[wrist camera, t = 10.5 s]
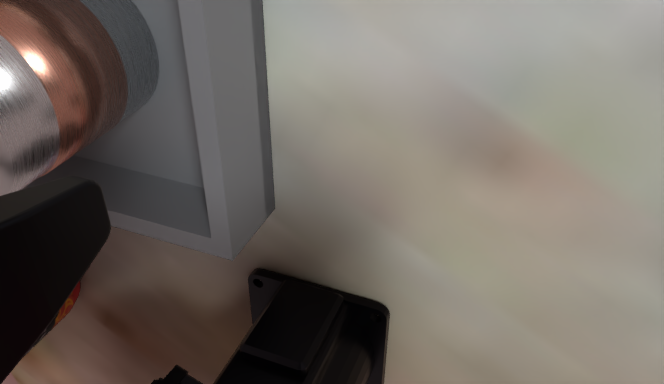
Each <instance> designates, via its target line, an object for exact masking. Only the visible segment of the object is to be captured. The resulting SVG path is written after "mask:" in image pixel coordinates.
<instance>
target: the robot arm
mask: <svg viewBox="0 0 664 384" xmlns="http://www.w3.org/2000/svg"><path fill="white" fill-rule="evenodd" d="M110 229H111V223H110V218H109V214H108V210H107V207H106V203H105V199H104V195H103V191H102V188H101V186H100V185H99V183H98V182H96V181H95V180H92V179H88V178H85V177H81V176H76V175H70V176H66V177H63V178H59V179H56V180H52V181H49V182H46V183H42V184H39V185H36V186H32V187H29V188H25V189H22V190H19V191H15V192H12V193H8V194H5V195H2V196H0V384H1V383H2V382H3V380H5V378H6V377H7V376H8V375H9V373H10V372H11V371H12V370H13V369H14V367H15V366H16V365H17V364H18V362H19V361H20V360H21V359H22V358H23V356H24V355H25V354H26V353H27V351H28V350H29V349H30V348H31V346H32V345H33V344H34V343H35V342H36V340H37V339H38V338H39V337H40V335H41V334H42V333H43V332H44V331H45V329H46V328H47V327H48V325H49V324H50V323H51V322H52V320H53V319H54V318H55V316H56V315H57V313H58V312H59V310H60V309H61V308H62V306H63V305H64V303H65V302H66V300H67V299H68V297H69V296H70V294H71V293H72V291H73V290H74V288H75V287H76V285H77V284H78V282H79V281H80V279H81V278H82V276H83V275H84V273H85V272H86V270H87V269H88V267H89V266H90V264H91V263H92V261H93V260H94V258H95V257H96V255H97V254H98V252H99V251H100V249H101V248H102V246H103V245H104V243H105V242H106V240H107V239H108V236H109V234H110ZM260 280H261V281H260ZM248 283H249V293H250V303H251V313H252V323H253V326H252V327H251V328H250V330H249V331H248V333H247V334H246V336H245V337H244V339H243V340H242V342H241V343H240V345H239V346H238V348H237V349H236V351H235V352H234V354H233V355H232V357H231V358H230V360H229V361H228V363H227V364H226V365H225V367H224V368H223V370H222V371H221V373H220V374H219V376H218V377H217V379H216V380H215V382H214V383H213V384H384V376H385V364H386V353H387V341H388V329H389V318H390V313H389V310H388V309H387V307H386V306H384V305H383V304H381V303H378V302H374V301H371V300H367V299H364V298H360V297H357V296H353V295H350V294H346V293H343V292H339V291H336V290H332V289H329V288H325V287H322V286H318V285H315V284H311V283H308V282H304V281H301V280H298V279H294V278H291V277H287V276H284V275H280V274H277V273H273V272H270V271H266V270H263V269H255V270H254V271H253V272H252V274H251V275H250V276H249V278H248ZM375 313H376V314H378V315H379V316H378V315H376V314H375ZM151 384H203V383H201V382H200V381H198V380H196V379H195V378H193V377H191V376H190V375H188V371H186V370H185V369H183V368H181V367H180V366H178V365H176V366H175V367H174V368H173V369H172V370H171V371H170V372H169V373H168V375H167V376H166V377H165V378H164V379H162V378H159V379H158V380H154V381H153V382H152V383H151Z"/></svg>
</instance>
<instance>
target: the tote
mask: <svg viewBox="0 0 664 384" xmlns="http://www.w3.org/2000/svg"><path fill="white" fill-rule="evenodd" d="M132 1H133V3H134V4H135V5H136V6H137V8H138V9H139V11H140V12H141V14H142V15H143V17H144V19H145V20H146V22H147V24H148V26H149V28H150V30H151V33H152V35H153V38H154V41H155V44H156V47H157V52H158V58H159V78H158V83H157V87H156V90H155V92H154V94H153V96H152V97H151V98H150V100H149V101H148V102H147V103H146V104H145V105H143V106H142V107H141V108H139V109H138V110H136V111H135V112H133V113H132V114H130V115H129V116H127V117H126V118H125V119H123V120H122V121H120V122H119V123H118V124H117V125H116V126H115V127H114V128H113V129H111V130H110V131H108V132H107V133H105V134H104V135H102V136H101V137H99V138H98V139H97V140H95V141H94V142H92V143H91V144H89V145H88V146H86V147H85V148H84V149H82V150H81V151H79V152H78V153H76V154H75V155H73V156H72V157H71V158H69V159H68V160H66V161H65V162H63V163H62V164H60V165H59V166H57V167H56V168H55V169H53V170H52V171H50V172H49V173H47V174H45V175H44V176H41V177H39V178H37V179H36V180H34V181H33V182H31V183H30V184H28V185H27V186H26V187H24V188H23V189H25V188H29V187H32V186H36V185H39V184H42V183H46V182H49V181H52V180H56V179H59V178H63V177H66V176H70V175H76V176H81V177H85V178H88V179H92V180H95V181H96V182H98V183H99V185H100V186H101V188H102V191H103V195H104V199H105V203H106V207H107V210H108V214H109V218H110V223H111V226H113V227H116V228H120V229H123V230H127V231H130V232H134V233H137V234H141V235H144V236H148V237H151V238H155V239H158V240H162V241H165V242H169V243H172V244H176V245H179V246H183V247H186V248H190V249H193V250H197V251H200V252H204V253H207V254H211V255H214V256H218V257H221V258H225V259H228V260H232V261H233V260H234V259H235V257H236V256H237V255H238V254H239V252H240V251H241V250H242V249H243V247H244V246H245V245H246V244H247V242H248V241H249V240H250V239H251V237H252V236H253V235H254V234H255V232H256V231H257V230H258V229H259V228H260V226H261V225H262V224H263V223H264V221H265V220H266V219H267V218H268V216H269V215H270V214H271V213H272V211H273V210H274V209H275V200H274V184H273V167H272V151H271V134H270V118H269V101H268V85H267V68H266V52H265V35H264V19H263V2H262V0H132ZM21 190H22V189H21Z"/></svg>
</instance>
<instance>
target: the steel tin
mask: <svg viewBox="0 0 664 384" xmlns="http://www.w3.org/2000/svg"><path fill="white" fill-rule="evenodd" d="M158 78H159V58H158V52H157V47H156V44H155V41H154V38H153V35H152V33H151V30H150V28H149V26H148V24H147V22H146V20H145V19H144V17H143V15H142V14H141V12H140V11H139V9H138V8H137V6H136V5H135V4H134V3H133V1H132V0H0V196H2V195H5V194H8V193H12V192H15V191H19V190H21V189H23V188H24V187H26V186H27V185H28V184H30V183H31V182H33V181H34V180H36V179H37V178H39V177H41V176H44V175H45V174H47V173H49V172H50V171H52V170H53V169H55V168H56V167H57V166H59V165H60V164H62V163H63V162H65V161H66V160H68V159H69V158H71V157H72V156H73V155H75V154H76V153H78V152H79V151H81V150H82V149H84V148H85V147H86V146H88V145H89V144H91V143H92V142H94V141H95V140H97V139H98V138H99V137H101V136H102V135H104V134H105V133H107V132H108V131H110V130H111V129H113V128H114V127H115V126H116V125H117V124H118V123H119V122H120V121H122V120H123V119H125V118H126V117H127V116H129V115H130V114H132V113H133V112H135V111H136V110H138V109H139V108H141V107H142V106H143V105H145V104H146V103H147V102H148V101H149V100H150V98H151V97H152V96H153V94H154V92H155V90H156V87H157V83H158Z"/></svg>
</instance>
